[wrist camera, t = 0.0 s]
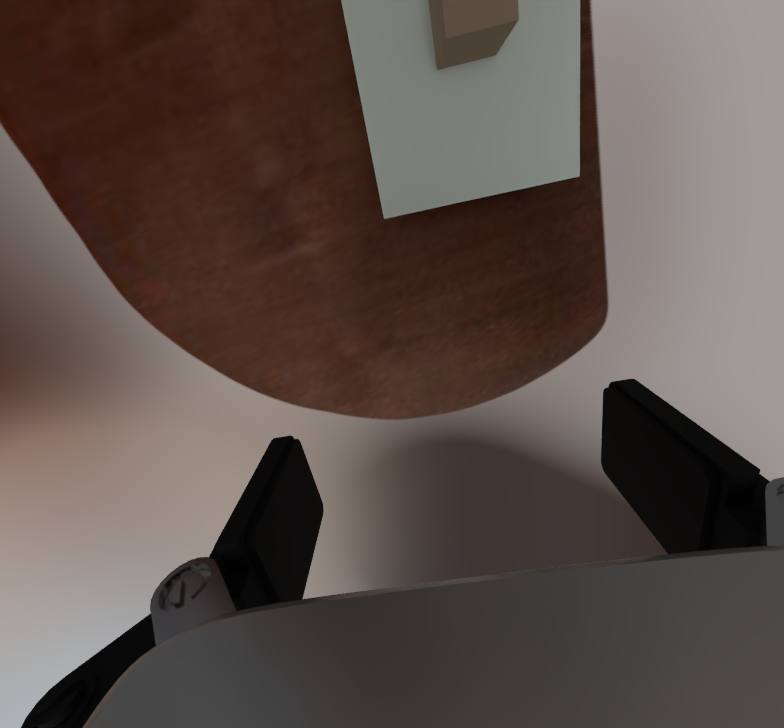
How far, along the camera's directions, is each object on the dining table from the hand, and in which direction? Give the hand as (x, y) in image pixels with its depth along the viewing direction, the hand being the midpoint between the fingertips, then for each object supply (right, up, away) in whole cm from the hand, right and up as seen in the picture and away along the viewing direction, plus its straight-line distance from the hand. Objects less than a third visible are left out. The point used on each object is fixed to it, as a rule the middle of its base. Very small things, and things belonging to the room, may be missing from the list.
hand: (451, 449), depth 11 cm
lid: (+3, +25, +13) cm, 29 cm away
